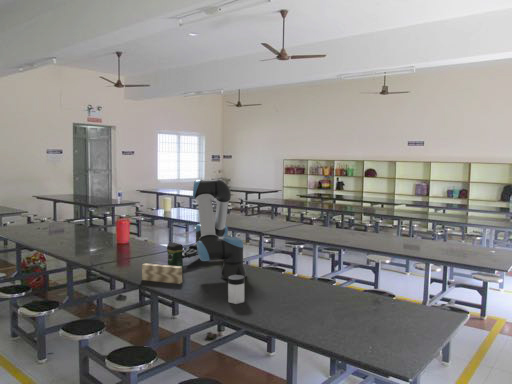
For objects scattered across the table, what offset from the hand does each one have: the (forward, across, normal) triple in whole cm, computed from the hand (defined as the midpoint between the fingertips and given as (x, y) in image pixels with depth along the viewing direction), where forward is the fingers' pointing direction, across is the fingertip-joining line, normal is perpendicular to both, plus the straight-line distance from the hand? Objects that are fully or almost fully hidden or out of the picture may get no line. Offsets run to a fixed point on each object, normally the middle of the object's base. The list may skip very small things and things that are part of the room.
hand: (178, 258), depth 253 cm
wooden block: (+21, -1, -8) cm, 23 cm away
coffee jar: (+5, 0, -8) cm, 10 cm away
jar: (+38, -52, -8) cm, 65 cm away
